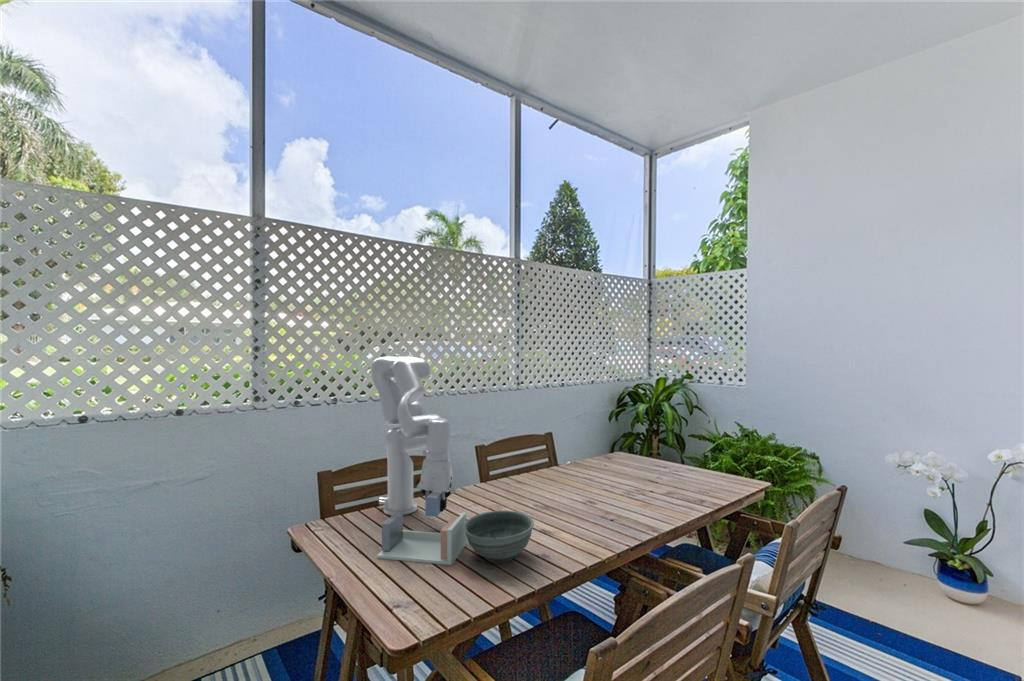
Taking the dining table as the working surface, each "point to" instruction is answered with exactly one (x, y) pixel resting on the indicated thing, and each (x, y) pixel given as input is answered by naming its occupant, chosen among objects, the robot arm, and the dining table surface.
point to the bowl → (499, 534)
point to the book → (433, 504)
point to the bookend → (392, 531)
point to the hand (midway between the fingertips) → (436, 508)
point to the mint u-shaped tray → (431, 544)
